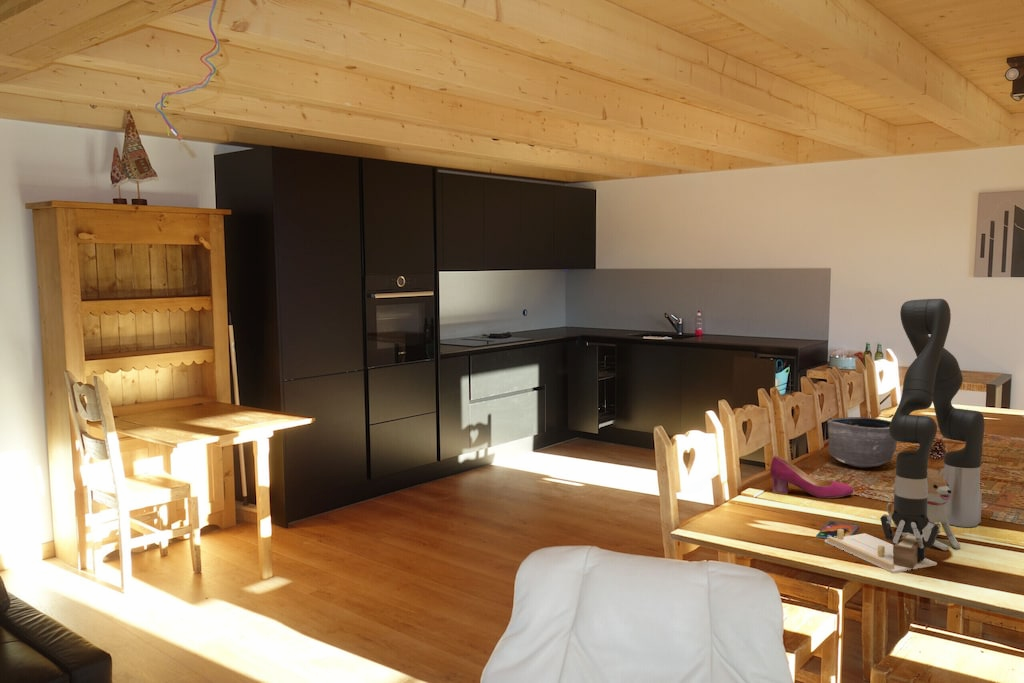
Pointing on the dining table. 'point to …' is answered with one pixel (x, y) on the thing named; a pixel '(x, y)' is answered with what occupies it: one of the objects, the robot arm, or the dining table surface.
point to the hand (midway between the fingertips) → (908, 558)
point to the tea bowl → (860, 441)
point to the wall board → (872, 550)
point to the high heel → (804, 481)
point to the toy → (936, 508)
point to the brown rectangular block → (906, 552)
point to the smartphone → (833, 526)
